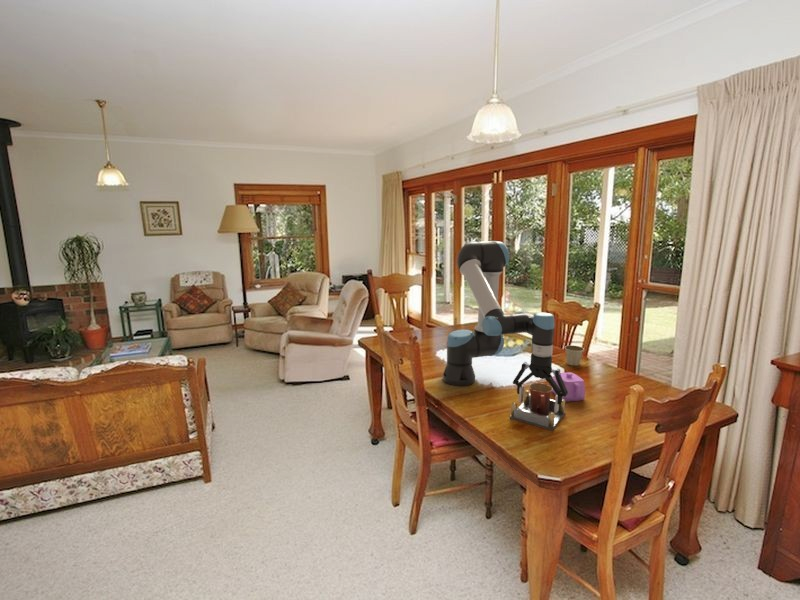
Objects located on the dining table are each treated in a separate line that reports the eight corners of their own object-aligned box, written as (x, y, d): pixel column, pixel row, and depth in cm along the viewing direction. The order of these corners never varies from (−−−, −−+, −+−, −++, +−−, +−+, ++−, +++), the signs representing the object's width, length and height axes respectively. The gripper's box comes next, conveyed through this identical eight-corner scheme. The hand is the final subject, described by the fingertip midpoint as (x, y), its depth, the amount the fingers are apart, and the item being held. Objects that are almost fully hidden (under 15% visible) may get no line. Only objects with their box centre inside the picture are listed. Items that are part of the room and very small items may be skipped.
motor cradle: (509, 418, 158) (510, 403, 156) (524, 403, 170) (525, 389, 169) (552, 430, 148) (553, 415, 147) (565, 413, 161) (566, 399, 159)
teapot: (545, 387, 185) (546, 366, 183) (567, 386, 187) (568, 364, 185) (566, 405, 168) (568, 382, 166) (590, 403, 169) (593, 380, 167)
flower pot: (565, 359, 220) (567, 344, 219) (584, 363, 215) (586, 347, 213) (561, 364, 213) (562, 348, 211) (580, 368, 208) (581, 352, 206)
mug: (526, 406, 165) (527, 382, 163) (549, 408, 163) (551, 383, 161) (529, 420, 154) (530, 394, 152) (554, 422, 152) (555, 396, 150)
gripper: (505, 350, 158) (503, 401, 163) (573, 363, 144) (569, 419, 148) (513, 345, 164) (510, 394, 169) (579, 357, 150) (574, 411, 154)
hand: (538, 406), depth 158 cm, fingers open, 13 cm apart
